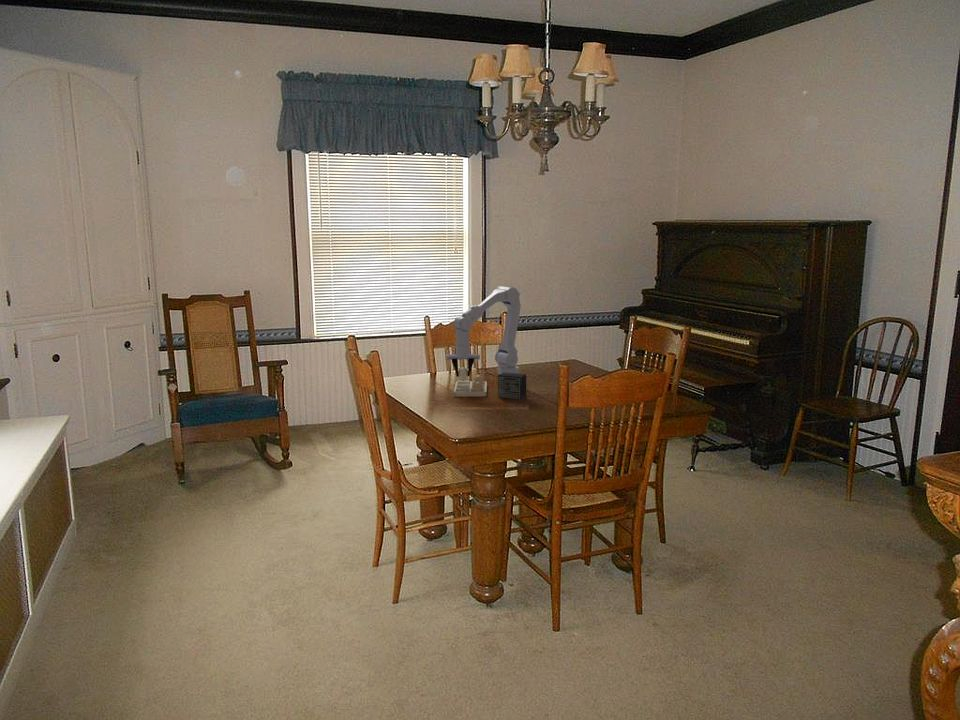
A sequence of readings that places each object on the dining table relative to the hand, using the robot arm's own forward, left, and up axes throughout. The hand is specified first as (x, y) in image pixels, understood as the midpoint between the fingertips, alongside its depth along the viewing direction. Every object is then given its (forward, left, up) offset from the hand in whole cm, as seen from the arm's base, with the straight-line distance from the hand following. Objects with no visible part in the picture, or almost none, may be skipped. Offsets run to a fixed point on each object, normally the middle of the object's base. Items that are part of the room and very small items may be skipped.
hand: (463, 376), depth 305 cm
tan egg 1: (-6, -6, -6) cm, 11 cm away
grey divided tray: (-3, 0, -7) cm, 8 cm away
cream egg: (0, 0, -1) cm, 1 cm away
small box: (-21, +10, -8) cm, 24 cm away
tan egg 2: (-6, +6, -6) cm, 11 cm away
